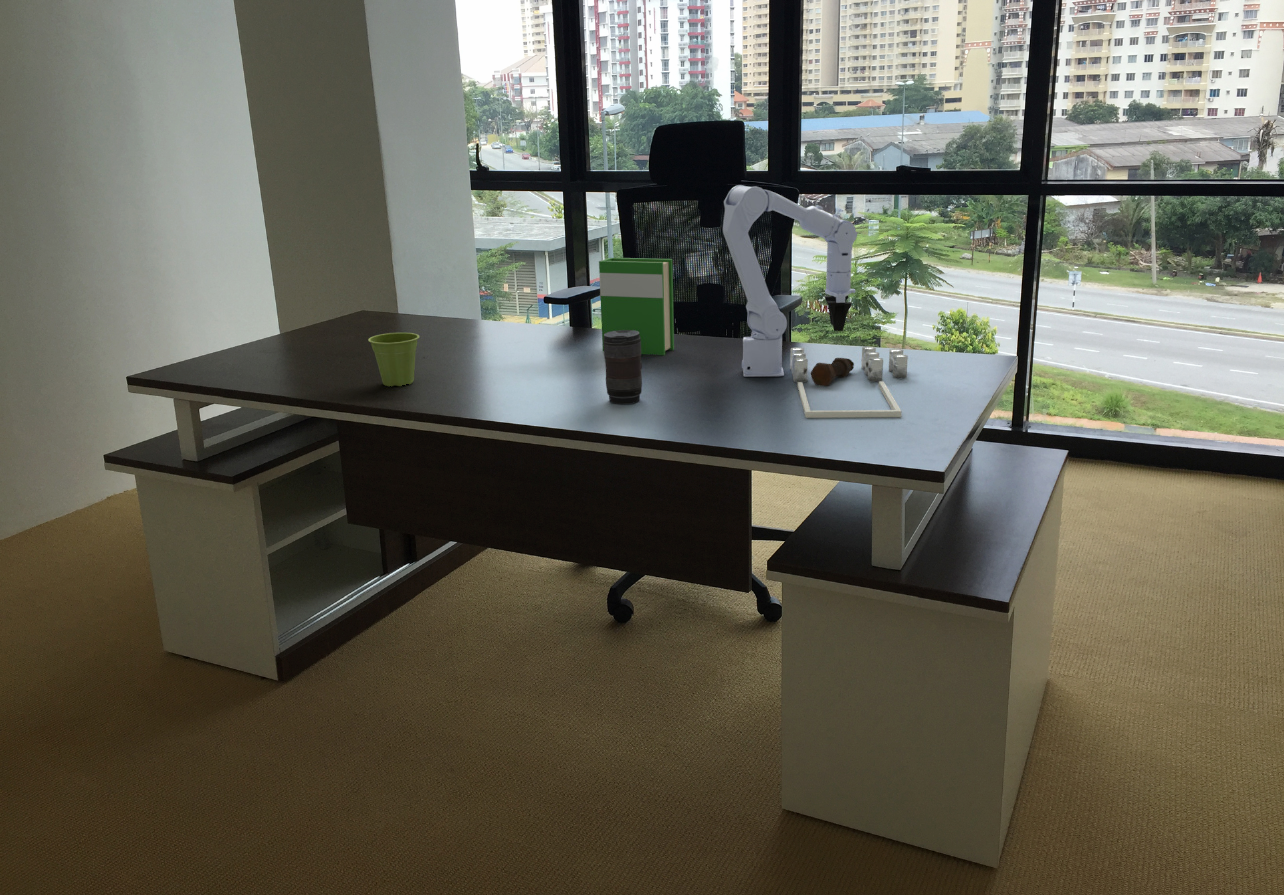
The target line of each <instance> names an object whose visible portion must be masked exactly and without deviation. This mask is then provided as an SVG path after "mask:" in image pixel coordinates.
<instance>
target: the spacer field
mask: <svg viewBox="0 0 1284 895" xmlns="http://www.w3.org/2000/svg"><path fill="white" fill-rule="evenodd" d="M876 351H877V349H876V347H875V346H863V347H862V348H861V369H862V370H864V375H865V374H866V375H865V376H867V380H869V381H868V382H870V383H871V382H872V383H879V381H883V372H884V371H883V369H884V358H882V357H880V353H879V352H878V351H877V352H876ZM908 357H909V356H908V355H907V354H904V349H901V348H891V349H889V355H888V372H889V373H892V376H893V377H892V378H893V379H898V378H903V379H907V376H908V359H909V358H908ZM789 360H790V365H789V366H790V367H789V369H790V370H791V376H792V378H793V382H794V383H797V384H798V382H802V383H807V382H808V368H809V367H808V366H809V362H808V361H809V360H808V359H807V354H806V353H805V348H804V347H791V348H790V359H789Z"/></svg>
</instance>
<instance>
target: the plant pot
mask: <svg viewBox="0 0 1284 895" xmlns="http://www.w3.org/2000/svg"><path fill="white" fill-rule="evenodd" d="M419 338H420V335H419V334H417V333H413V332H389V333H383V334H377V335H374V336H371V337H369V338H368V342H369V343H370V345H371V348H372V351H373V353H374V356H375V359H376V364H377V366H378V370H379V373H380V377H381V381H382V384H383V385H384V386H385V387H386V386H387V387H390V386H391V387H394V386H397V387H403V386H402V385H405V386H407V385H406V384H409V385H411V384H413V382H414V381H415V366H416V365H415V364H416V352H417V347H418V339H419Z"/></svg>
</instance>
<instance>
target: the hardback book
mask: <svg viewBox="0 0 1284 895" xmlns="http://www.w3.org/2000/svg"><path fill="white" fill-rule="evenodd" d="M673 271H674V270H673V259H672V258H643V257H642V258H640V257H639V258H635V257H634V258H633V257H632V258H631V257H608V258H606V259H605V258H604V259H602V260H600V261H598V272H599V273H598V274H599V292H600V293H599V296H600V298H599V299H600V317H601V320H600V321H601V339H602V340H601V341H602V342H601V343H602V345H601V346H602V352H603V353H604V345H603V341H604V340H603V339H604V334H605V333H607V332H611V331H618V330H634V331H638V332H639V335H640V339H641V355H650V354H653V355H654V354H655V355H654V356H665V355H666V351H674V350H675V325H674V280H673V278H674V276H673ZM656 354H657V355H656ZM653 355H652V356H653Z"/></svg>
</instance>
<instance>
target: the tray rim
mask: <svg viewBox="0 0 1284 895" xmlns="http://www.w3.org/2000/svg"><path fill="white" fill-rule="evenodd" d="M878 388H879V390H880V391H881V392H882V394H883V397H884V398H885V400H886V402H887V403H888V405H889V407H890V409H872V410H871V409H867V410H865V409H863V410H862V409H855V410H854V409H853V410H852V409H851V410H850V409H849V410H845V409H844V410H811V407H810V404H809V402H808V397H807V394H806V391H805V387H804V384H803V383H802V382H798V383H797V389H798V390H799V391H798V390H797V391H798V394H799V398H800V402H801V404H802V409H803V413H804V417H805V419H806V418H807V419H811V418H814V419H815V418H816V419H818V418H822V419H823V418H825V419H826V418H829V419H830V418H834V419H835V418H837V419H838V418H902V410H901V408H900V406H899V404H898V403H897V401H896V400H895V398H894V397H893V394H892V393H891V391H890V390H889V387H887V385H886V383H885V381H883V380H882V381H879V382H878Z"/></svg>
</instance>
